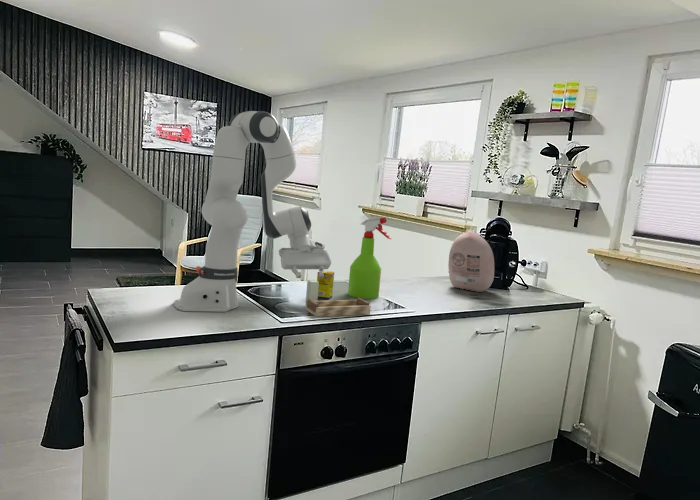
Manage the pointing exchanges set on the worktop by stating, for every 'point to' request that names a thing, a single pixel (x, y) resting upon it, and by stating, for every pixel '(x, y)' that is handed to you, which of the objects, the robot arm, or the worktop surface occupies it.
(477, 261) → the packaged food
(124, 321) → the worktop surface
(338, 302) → the wooden tray
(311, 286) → the pale grey-green block
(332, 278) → the supplement box
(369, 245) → the spray bottle
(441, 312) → the worktop surface
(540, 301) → the worktop surface
